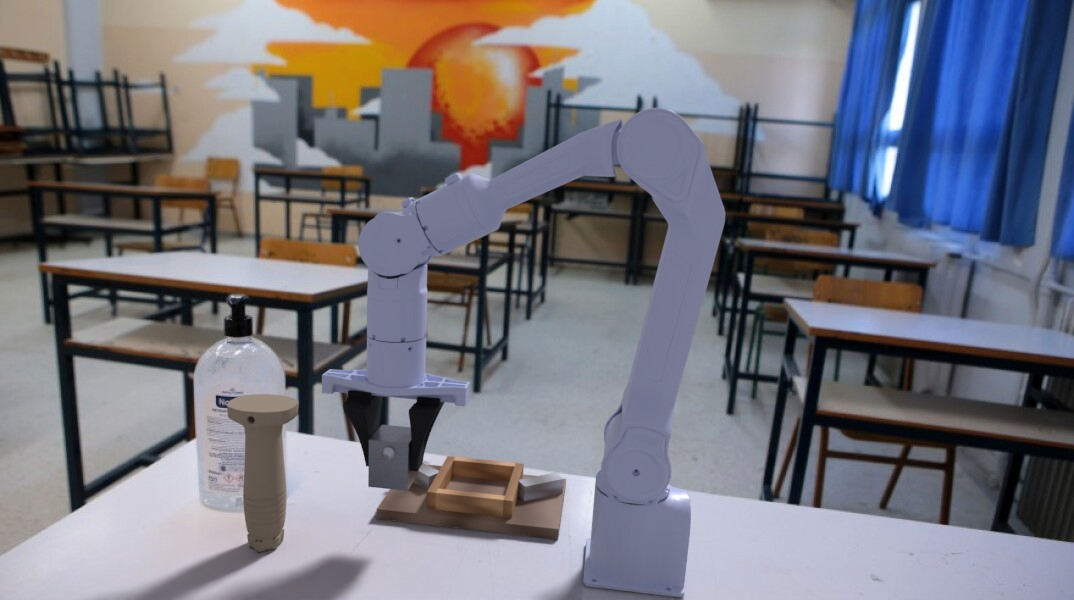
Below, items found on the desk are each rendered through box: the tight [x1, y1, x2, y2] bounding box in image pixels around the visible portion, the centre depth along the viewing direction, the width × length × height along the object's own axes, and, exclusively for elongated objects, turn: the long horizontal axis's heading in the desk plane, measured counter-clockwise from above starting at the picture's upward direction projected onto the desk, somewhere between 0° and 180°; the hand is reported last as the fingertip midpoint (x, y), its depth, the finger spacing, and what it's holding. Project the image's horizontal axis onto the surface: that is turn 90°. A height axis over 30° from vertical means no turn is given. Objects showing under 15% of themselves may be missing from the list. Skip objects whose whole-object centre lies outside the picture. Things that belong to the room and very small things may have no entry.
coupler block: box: [367, 424, 419, 491], centre depth 69 cm, size 4×5×5 cm
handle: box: [226, 393, 299, 553], centre depth 67 cm, size 5×6×15 cm
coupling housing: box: [375, 455, 567, 540], centre depth 79 cm, size 20×12×3 cm, turn 84°
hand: (394, 464), depth 69 cm, fingers closed on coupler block, 4 cm apart
